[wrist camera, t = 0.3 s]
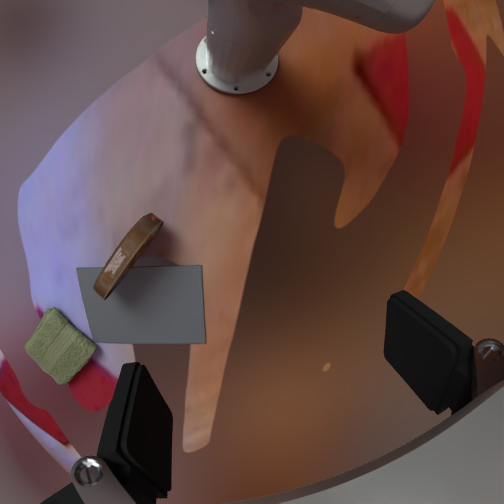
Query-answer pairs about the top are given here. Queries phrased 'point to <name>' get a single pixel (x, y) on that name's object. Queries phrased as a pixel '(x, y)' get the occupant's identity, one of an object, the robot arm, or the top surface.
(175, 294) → the mat
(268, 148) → the top surface
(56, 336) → the washcloth
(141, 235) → the tin
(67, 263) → the top surface
